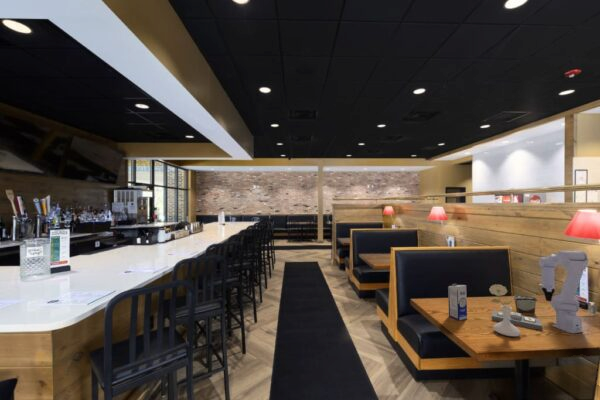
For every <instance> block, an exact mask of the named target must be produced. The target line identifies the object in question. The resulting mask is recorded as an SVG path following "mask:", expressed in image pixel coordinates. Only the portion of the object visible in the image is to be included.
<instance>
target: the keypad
mask: <svg viewBox="0 0 600 400" xmlns="http://www.w3.org/2000/svg"><path fill="white" fill-rule="evenodd" d="M498 312H501V313H503V311H500V310H494V309H493V310H492V314H491V320H492V321H495V322H499V323H500V322H502V321H503V319H504V316H498ZM524 317H528V318H533V319H535V323H534V322H529V321H525V318H524ZM509 321H510V323H511V324H513V325H514V326H520V327H525V328H528V329H529V328H530V329H535V330H540V331H543V322H542V318H537V317H532V316H526V315H523V314H521V320H519V319H514V318H511V312H509Z"/></svg>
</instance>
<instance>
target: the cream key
mask: <svg viewBox="0 0 600 400" xmlns="http://www.w3.org/2000/svg"><path fill="white" fill-rule="evenodd" d="M528 317H529V316H527V317H524V318H525V321H529V322H534V323H535V319H533V318H534V317H533V318H528Z"/></svg>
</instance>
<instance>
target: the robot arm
mask: <svg viewBox="0 0 600 400" xmlns="http://www.w3.org/2000/svg"><path fill="white" fill-rule="evenodd" d="M588 263H589V257H588V255H587V253H586V252H585V251H583V250H579V251H578V250H574V251H573V250H561V249H560V250H559V251H558V252H557V254H554V253H550V254H549V255H547V256H546V257H545V256H544V257H542V256H541V257H539V258H538V264H539V266H540V272H541V275H540V277H541V283H539V284H538V285H539V286H540V287H541V290H542V292H543V294H544V297H545V301H546V302H550V304H551V307H552V309H553V310H554V311H555V323H556V324H551V326H552V327H554V328H557V329H559V330H561V331H564V332H567V333H569V334H577V333H578V334H579V333H583V332H584V331H583V322H582V318H581V317H580V316H579V315H577V313H578V312H579V310H580V301H579V299H577V297H576V293H577V291H578V287H579V286H580V283H581V282H580V281H581V280H582V276H583V273H584V271H586V269H587V266H588ZM557 265H561V266H562V268H563V269H565V270H567V273H566V276H565V279H564V282H563V284H562V288H561V291H560V293H557V294H556V295H554V293H555V292H556V290H555V288H556V286H555V271H556V267H557ZM553 295H554V296H553Z"/></svg>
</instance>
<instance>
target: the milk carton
mask: <svg viewBox="0 0 600 400" xmlns="http://www.w3.org/2000/svg"><path fill="white" fill-rule="evenodd" d="M447 290H448V293H447V295H448V317H449V318H451V319H454V320H456V321H458V322H459V321H463V320H468V306H467V305H468V303H467V302H468V301H467V284H457V283H451V285H449V286H447Z"/></svg>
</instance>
